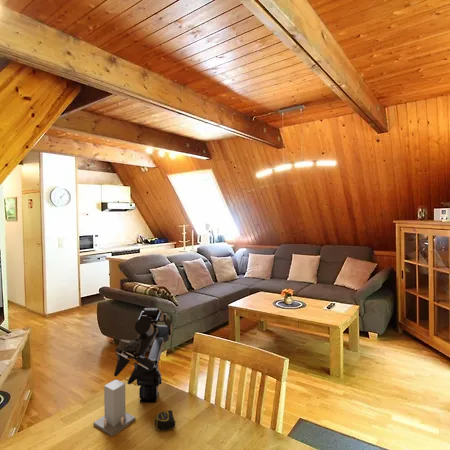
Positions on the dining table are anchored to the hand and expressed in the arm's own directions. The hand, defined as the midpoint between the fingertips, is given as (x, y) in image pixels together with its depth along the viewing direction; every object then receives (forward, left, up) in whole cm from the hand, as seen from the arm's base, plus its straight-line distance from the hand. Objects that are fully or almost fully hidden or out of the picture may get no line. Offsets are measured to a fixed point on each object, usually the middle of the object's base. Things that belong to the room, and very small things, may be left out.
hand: (121, 379), depth 117 cm
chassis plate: (+1, +4, -14) cm, 14 cm away
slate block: (+1, +4, -13) cm, 13 cm away
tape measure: (-17, +5, -14) cm, 23 cm away
